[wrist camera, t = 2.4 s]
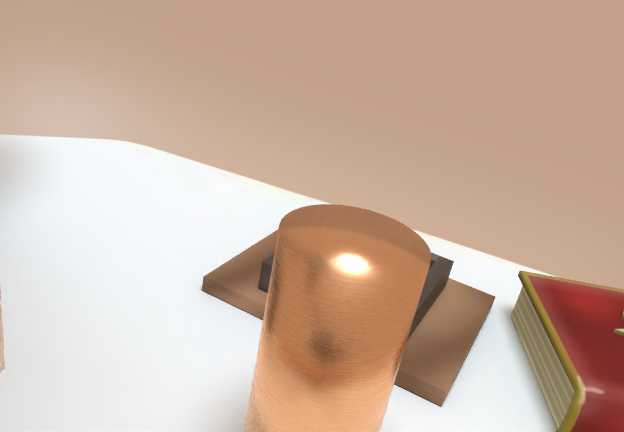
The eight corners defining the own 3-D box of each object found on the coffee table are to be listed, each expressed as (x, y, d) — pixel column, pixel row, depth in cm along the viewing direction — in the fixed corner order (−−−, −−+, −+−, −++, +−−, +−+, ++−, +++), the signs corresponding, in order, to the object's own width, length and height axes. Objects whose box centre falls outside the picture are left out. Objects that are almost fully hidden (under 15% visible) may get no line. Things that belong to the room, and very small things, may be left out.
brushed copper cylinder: (211, 486, 25) (248, 237, 20) (279, 410, 30) (322, 192, 25) (326, 558, 23) (399, 302, 18) (379, 465, 28) (450, 240, 23)
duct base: (201, 290, 38) (206, 249, 37) (295, 228, 48) (301, 194, 46) (441, 406, 32) (456, 362, 31) (490, 308, 42) (504, 272, 41)
